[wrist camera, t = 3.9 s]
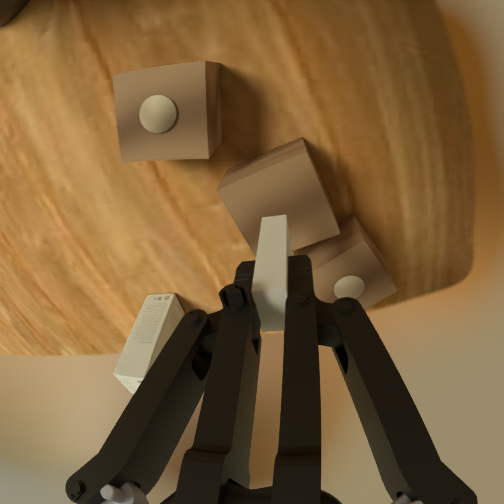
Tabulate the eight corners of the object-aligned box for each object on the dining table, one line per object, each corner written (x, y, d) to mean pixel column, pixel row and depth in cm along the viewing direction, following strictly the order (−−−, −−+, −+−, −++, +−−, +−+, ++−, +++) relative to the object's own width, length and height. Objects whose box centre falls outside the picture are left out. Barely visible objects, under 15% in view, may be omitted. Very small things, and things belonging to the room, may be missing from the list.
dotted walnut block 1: (142, 72, 20) (111, 75, 16) (220, 63, 20) (204, 60, 16) (148, 145, 24) (120, 163, 20) (222, 142, 24) (208, 159, 20)
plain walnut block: (228, 168, 25) (216, 190, 21) (302, 136, 23) (306, 151, 19) (263, 231, 28) (259, 262, 24) (331, 205, 26) (340, 233, 22)
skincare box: (146, 293, 35) (107, 372, 25) (177, 291, 34) (143, 376, 24) (165, 326, 38) (136, 402, 28) (194, 326, 37) (170, 406, 27)
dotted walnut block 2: (293, 249, 29) (294, 283, 25) (352, 211, 26) (364, 241, 22) (331, 291, 32) (336, 326, 27) (385, 259, 29) (398, 292, 24)
